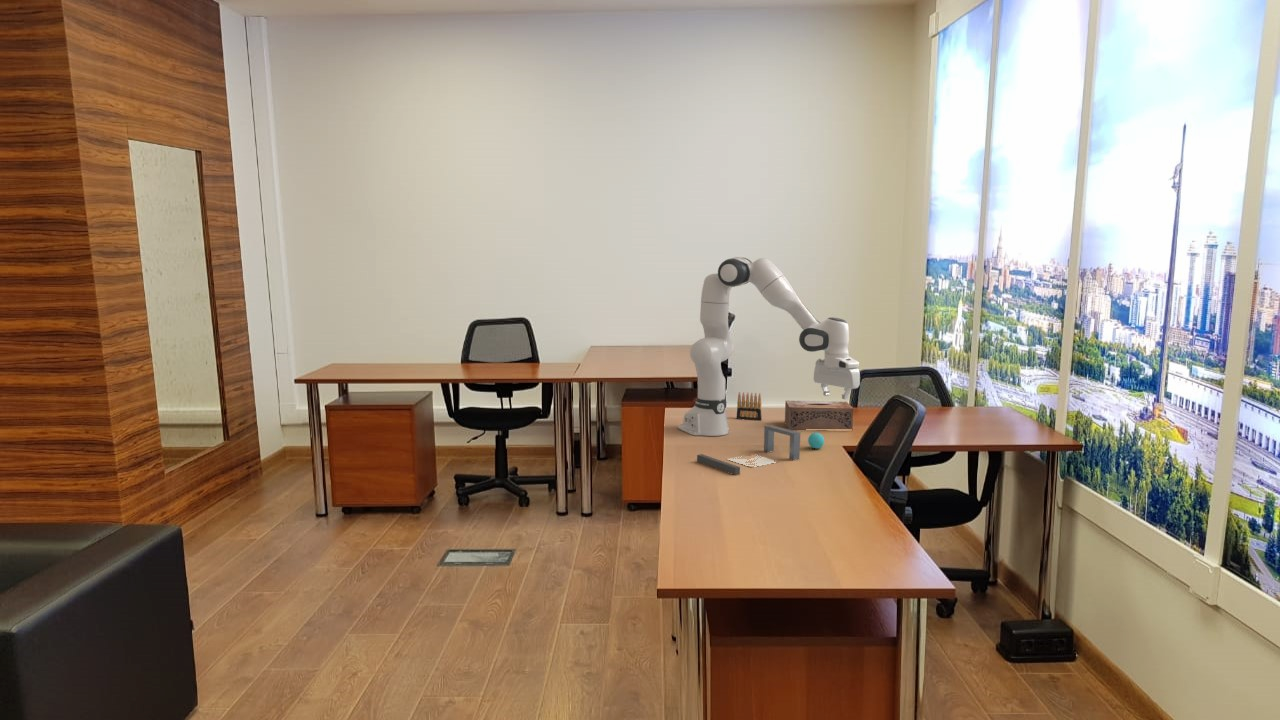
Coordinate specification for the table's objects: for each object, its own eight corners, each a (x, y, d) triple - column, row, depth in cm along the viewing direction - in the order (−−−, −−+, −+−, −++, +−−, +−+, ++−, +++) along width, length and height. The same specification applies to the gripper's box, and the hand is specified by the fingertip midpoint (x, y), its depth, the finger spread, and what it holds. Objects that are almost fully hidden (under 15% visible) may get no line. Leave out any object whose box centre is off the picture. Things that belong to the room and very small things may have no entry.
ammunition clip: (761, 419, 355) (762, 392, 353) (761, 420, 353) (761, 393, 352) (737, 418, 358) (737, 391, 356) (736, 419, 356) (737, 392, 354)
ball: (804, 448, 306) (804, 432, 305) (815, 445, 310) (816, 430, 309) (816, 451, 301) (816, 435, 300) (827, 449, 305) (828, 433, 304)
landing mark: (726, 459, 289) (726, 459, 289) (753, 454, 296) (753, 453, 296) (751, 468, 278) (751, 467, 278) (779, 462, 286) (779, 461, 286)
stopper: (697, 461, 286) (697, 454, 285) (701, 461, 287) (701, 454, 286) (735, 475, 269) (735, 467, 269) (739, 474, 271) (739, 466, 270)
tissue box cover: (845, 424, 348) (846, 401, 347) (852, 432, 334) (853, 408, 332) (784, 423, 350) (785, 400, 348) (788, 431, 335) (789, 407, 334)
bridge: (793, 460, 288) (794, 433, 287) (763, 451, 300) (764, 425, 299) (799, 459, 290) (800, 432, 289) (769, 450, 302) (770, 424, 301)
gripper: (810, 358, 313) (809, 394, 315) (851, 364, 296) (850, 402, 298) (821, 357, 317) (821, 392, 318) (863, 363, 300) (862, 400, 302)
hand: (835, 397), depth 308 cm, fingers open, 8 cm apart
